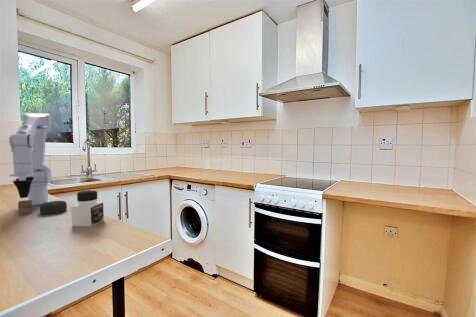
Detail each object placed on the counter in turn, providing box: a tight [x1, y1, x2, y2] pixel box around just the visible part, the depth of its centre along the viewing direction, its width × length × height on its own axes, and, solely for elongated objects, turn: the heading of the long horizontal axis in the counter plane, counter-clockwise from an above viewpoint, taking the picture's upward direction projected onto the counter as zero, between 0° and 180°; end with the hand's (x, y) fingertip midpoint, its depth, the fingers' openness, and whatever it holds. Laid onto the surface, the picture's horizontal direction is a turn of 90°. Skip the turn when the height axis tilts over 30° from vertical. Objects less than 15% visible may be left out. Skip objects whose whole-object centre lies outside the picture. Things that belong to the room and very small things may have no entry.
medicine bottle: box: [70, 189, 105, 228], centre depth 83 cm, size 7×7×12 cm
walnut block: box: [17, 199, 34, 216], centre depth 96 cm, size 4×4×5 cm
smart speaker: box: [39, 200, 68, 215], centre depth 98 cm, size 9×9×4 cm
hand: (24, 196), depth 95 cm, fingers open, 7 cm apart
